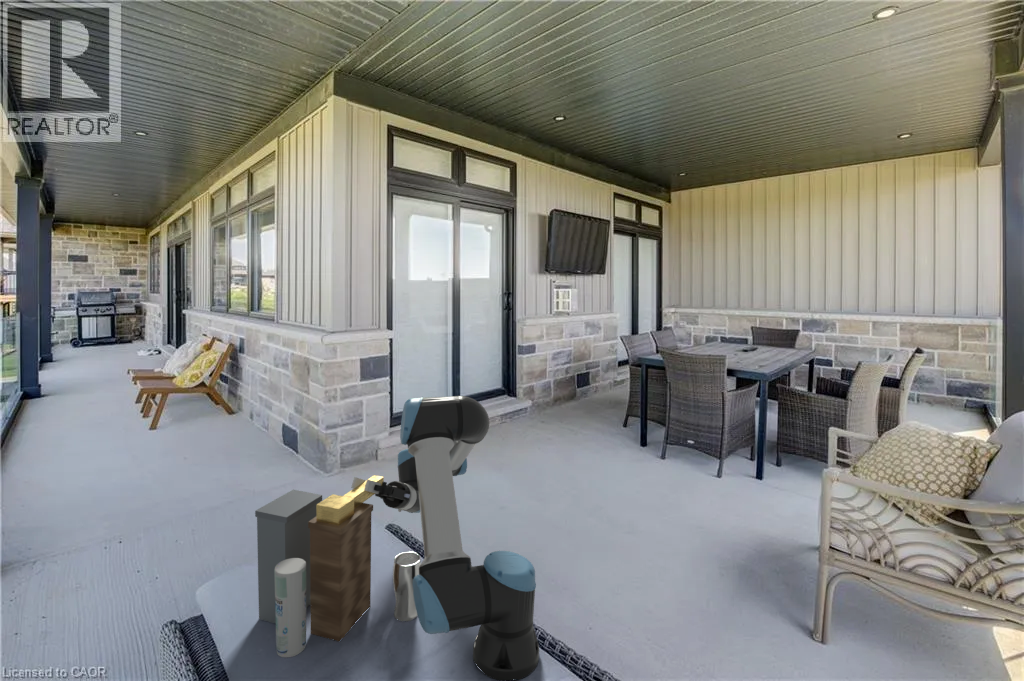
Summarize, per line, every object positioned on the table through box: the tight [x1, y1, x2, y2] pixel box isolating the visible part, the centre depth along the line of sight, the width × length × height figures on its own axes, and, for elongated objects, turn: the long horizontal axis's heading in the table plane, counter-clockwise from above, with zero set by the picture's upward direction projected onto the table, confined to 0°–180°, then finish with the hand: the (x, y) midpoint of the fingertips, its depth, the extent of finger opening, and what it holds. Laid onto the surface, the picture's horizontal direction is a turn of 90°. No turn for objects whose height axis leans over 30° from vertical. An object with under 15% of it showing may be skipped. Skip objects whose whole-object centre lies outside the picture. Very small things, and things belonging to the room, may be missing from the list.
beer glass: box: [392, 551, 422, 622], centre depth 126 cm, size 7×7×15 cm
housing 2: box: [308, 502, 374, 642], centre depth 122 cm, size 13×9×28 cm
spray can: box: [274, 558, 307, 658], centre depth 113 cm, size 6×6×20 cm
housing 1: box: [254, 489, 323, 625], centre depth 126 cm, size 13×9×28 cm
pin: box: [316, 475, 385, 526], centre depth 125 cm, size 22×6×4 cm, turn 164°
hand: (360, 483), depth 127 cm, fingers closed on pin, 3 cm apart
